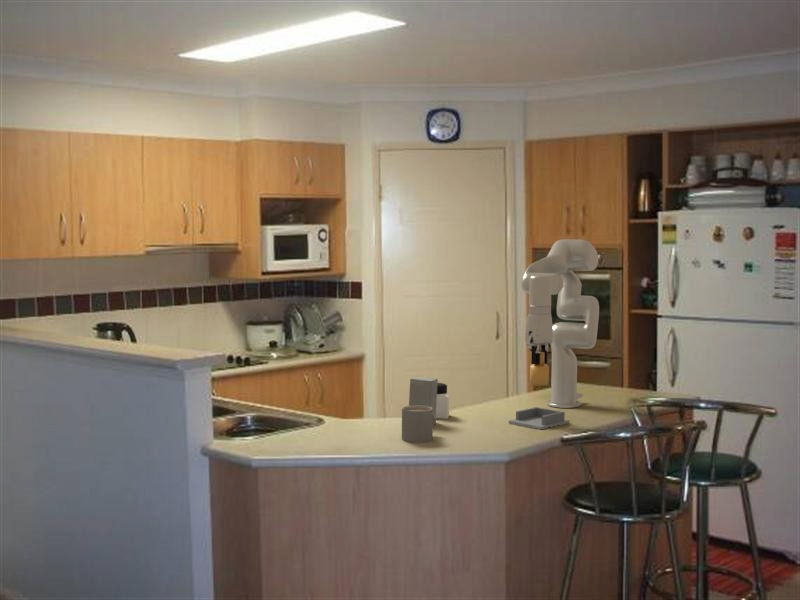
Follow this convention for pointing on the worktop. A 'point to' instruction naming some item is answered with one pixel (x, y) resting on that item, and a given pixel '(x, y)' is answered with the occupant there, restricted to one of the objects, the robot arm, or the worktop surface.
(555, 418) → the u rest
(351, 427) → the worktop surface
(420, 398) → the skincare box
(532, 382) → the amber bottle
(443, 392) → the medicine bottle
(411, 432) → the coffee mug
